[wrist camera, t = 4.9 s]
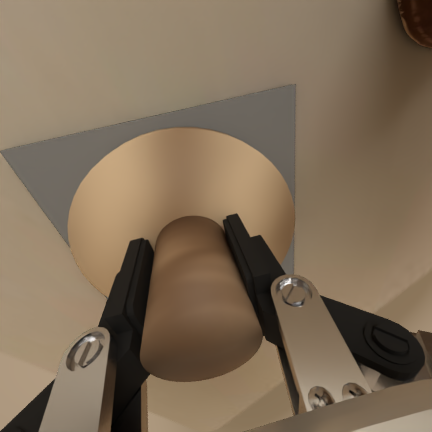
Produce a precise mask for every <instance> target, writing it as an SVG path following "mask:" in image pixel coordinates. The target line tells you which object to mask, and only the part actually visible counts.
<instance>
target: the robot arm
mask: <svg viewBox="0 0 432 432" xmlns="http://www.w3.org/2000/svg"><path fill="white" fill-rule="evenodd" d="M223 225H224V230H225V235H226V237H227V240H228V243H229V245H230V248H231V251H232V253H233V256H234V259H235V261H236V264H237V267H238V269H239V272H240V275H241V277H242V280H243V283H244V285H245V288H246V291H247V293H248V296H249V299H250V301H251V303H252V305H253V308H254V311H255V313H256V316H257V318H258V321H259V324H260V326H261V329H262V333H263V336H265V338H266V340H267V341H269V342H271V343H273V344H275V346H276V350H277V354H278V358H279V362H280V365H281V369H282V373H283V377H284V381H285V385H286V389H287V393H288V396H289V400H290V404H291V408H292V412H293V415H294V416H292V417H289V418H286V419H283V420H280V421H276V422H273V423H270V424H267V425H264V426H260V427H257V428H254V429H251V430H248V431H244V432H432V333H430V332H425V331H420V330H418V332H417V333H412V332H409V331H408V330H407V329H405V328H404V327H402V326H401V325H399V324H397V323H395V322H393V321H391V320H388V319H385V318H383V317H380V316H377V315H374V314H372V313H369V312H366V311H363V310H360V309H357V308H355V307H352V306H349V305H346V304H343V303H340V302H338V301H335V300H332V299H329V298H326V297H324V296H321V295H319V293H318V291H317V289H316V288H315V286H314V285H313V284H312V283H311V282H310V281H309V280H307V279H306V278H304V277H302V276H299V275H294V274H286V273H285V272H284V270H283V269H282V267H281V265H280V264H279V262H278V261H277V259H276V258H275V256H274V254H273V253H272V251H271V250H270V248H269V247H268V245H267V244H266V242H265V240H264V239H263V237H262V236H261V235H257V236H253V237H250V235H249V233H248V232H247V230H246V228H245V226H244V224H243V223H242V221H241V219H240V217H239V215H238V214H237V213H236V214H232V215H228V216H226V219H224V220H223ZM153 259H154V251H153V248H152V246H151V244H150V242H149V240H148V239H147V240H145V239H144V238H138V239H135V240H131V241H130V242H129V245H128V248H127V251H126V254H125V257H124V260H123V263H122V266H121V269H120V272H118V273H117V274H116V276H115V279H114V282H113V285H112V288H111V291H110V294H109V297H108V300H107V302H106V305H105V308H104V311H103V314H102V317H101V320H100V323H99V325H98V327H96V328H92V329H90V330H88V331H86V332H84V333H82V334H81V335H80V336H79V337H77V338H76V339H75V340H74V341H73V342H72V343H71V344H70V346H69V347H68V348H67V350H66V351H65V353H64V355H63V357H62V360H61V363H60V366H59V369H58V372H57V375H56V378H55V379H54V380H53V381H52V382H51V383H50V384H49V385H48V386H47V387H46V388H45V389H44V390H43V391H42V392H41V393H40V394H39V395H38V396H37V397H35V399H34V400H33V401H31V402H30V403H29V404H28V405H27V406H26V407H25V408H24V409H23V410H22V411H21V412H20V413H19V414H18V415H17V416H16V417H15V418H14V419H13V420H12V421H11V422H10V423H8V424H7V425H6V427H4V428H3V429H2V430H1V431H0V432H148V411H147V381H146V379H147V377H148V376H149V375H150V373H149V372H147V371H146V370H145V368H144V367H143V366H142V364H141V361H140V350H141V343H142V336H143V329H144V322H145V315H146V308H147V301H148V294H149V287H150V280H151V273H152V266H153Z"/></svg>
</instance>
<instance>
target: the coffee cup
mask: <svg viewBox="0 0 432 432" xmlns="http://www.w3.org/2000/svg"><path fill="white" fill-rule="evenodd" d="M397 2H398V7H399V11H400V15H401V19H402V22H403V26H404V29H405V31H406V33H407V34H408V35H409V36H410V37H411V38H412V39H413V40H414V41H416V42H417V43H418V44H420V45H422V46H424V47H428V48H431V49H432V0H397Z"/></svg>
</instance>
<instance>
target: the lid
mask: <svg viewBox="0 0 432 432" xmlns="http://www.w3.org/2000/svg"><path fill="white" fill-rule="evenodd" d="M236 213H237V214H238V215H239V217H240V219H241V221H242V223H243V224H244V226H245V228H246V230H247V232H248V233H249V235H250V237H253V236H257V235H261V236H262V237H263V239H264V240H265V242H266V244H267V245H268V247H269V248H270V250H271V251H272V253H273V254H274V256H275V258H276V259H277V261H278V262H279V264H280V265H281V263H282V262H283V260H284V258H285V256H286V254H287V252H288V250H289V247H290V245H291V242H292V238H293V234H294V226H295V210H294V204H293V200H292V196H291V193H290V191H289V188H288V185H287V183H286V182H285V180H284V178H283V177H282V175H281V173H280V172H279V171H278V170H277V168H276V167H275V166H274V165H273V164H272V162H270V161H269V160H268V159H267V158H266V157H265V156H264V155H262V154H261V153H260V152H259V151H257V150H256V149H254V148H252V147H251V146H249V145H248V144H246V143H244V142H243V141H241V140H239V139H237V138H235V137H232V136H230V135H228V134H226V133H222V132H219V131H215V130H211V129H206V128H198V127H172V128H165V129H159V130H155V131H152V132H148V133H145V134H142V135H140V136H137V137H135V138H133V139H131V140H129V141H127V142H125V143H123V144H122V145H121V146H119V147H118V148H116V149H115V150H113V151H112V152H110V153H109V154H108V155H106V156H105V157H104V158H103V159H102V160H101V161H100V162H99V163H97V164H96V165H95V166H94V167H93V168H92V169H91V170H90V172H89V173H88V174H87V176H86V177H85V178H84V179H83V181H82V182H81V184H80V186H79V188H78V189H77V191H76V193H75V195H74V197H73V201H72V204H71V207H70V210H69V217H68V240H69V244H70V248H71V252H72V254H73V257H74V259H75V261H76V264H77V265H78V267H79V269H80V270H81V272H82V273H83V275H84V276H85V277H86V278H87V279H88V281H89V282H90V283H91V284H92V285H93V286H94V287H95V288H96V289H97V290H99V291H100V292H101V293H102V294H104V295H105V296H107V297H109V294H110V291H111V288H112V285H113V282H114V279H115V276H116V274H117V273H118V272H120V269H121V266H122V263H123V260H124V257H125V254H126V251H127V248H128V245H129V242H130V241H131V240H135V239H138V238H144V239H145V240H147V239H148V240H149V242H150V244H151V246H152V248H153V251H154V259H153V266H152V273H151V280H150V287H149V294H148V301H147V308H146V315H145V322H144V329H143V336H142V343H141V350H140V361H141V364H142V366H143V367H144V368H145V370H146V371H147V372H149V373H150V374H152V375H154V376H156V377H158V378H161V379H164V380H169V381H176V382H192V381H201V380H206V379H210V378H214V377H218V376H221V375H223V374H226V373H228V372H230V371H232V370H235V369H236V368H238V367H240V366H241V365H243V364H244V363H246V362H247V361H248V360H249V359H251V358H252V357H253V356H254V354H255V353H256V352H257V351H258V349H259V347H260V345H261V343H262V339H263V333H262V329H261V326H260V324H259V321H258V318H257V316H256V313H255V311H254V308H253V305H252V303H251V301H250V299H249V296H248V293H247V291H246V288H245V285H244V283H243V280H242V277H241V275H240V272H239V269H238V267H237V264H236V261H235V259H234V256H233V253H232V251H231V248H230V245H229V243H228V240H227V237H226V235H225V230H224V225H223V220H224V219H226V216H228V215H232V214H236Z"/></svg>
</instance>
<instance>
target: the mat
mask: <svg viewBox="0 0 432 432" xmlns="http://www.w3.org/2000/svg"><path fill="white" fill-rule="evenodd" d="M295 110H296V84H294V85H289V86H284V87H280V88H276V89H271V90H267V91H262V92H258V93H253V94H249V95H245V96H240V97H236V98H231V99H227V100H222V101H218V102H214V103H209V104H205V105H200V106H196V107H191V108H187V109H183V110H178V111H174V112H169V113H165V114H160V115H156V116H151V117H147V118H143V119H138V120H134V121H129V122H125V123H120V124H116V125H112V126H107V127H103V128H98V129H94V130H89V131H85V132H81V133H76V134H72V135H67V136H63V137H58V138H54V139H50V140H45V141H41V142H36V143H32V144H27V145H23V146H19V147H14V148H10V149H6V150H2V151H0V153H1V154H2V155H3V157H4V158H5V159H6V161H7V162H8V164H9V165H10V166H11V168H12V169H13V170H14V172H15V173H16V175H17V176H18V177H19V179H20V180H21V181H22V183H23V184H24V186H25V187H26V188H27V190H28V191H29V192H30V194H31V195H32V196H33V198H34V199H35V201H36V202H37V203H38V205H39V206H40V207H41V209H42V210H43V212H44V213H45V214H46V216H47V217H48V218H49V220H50V221H51V223H52V224H53V225H54V227H55V228H56V229H57V231H58V232H59V233H60V235H61V236H62V238H63V239H64V240H65V242H66V243H67V244H68V246H69V247H70V244H69V240H68V217H69V210H70V207H71V204H72V201H73V197H74V195H75V193H76V191H77V189H78V188H79V186H80V184H81V182H82V181H83V179H84V178H85V177H86V176H87V174H88V173H89V172H90V170H91V169H92V168H93V167H94V166H95V165H96V164H97V163H99V162H100V161H101V160H102V159H103V158H104V157H105V156H106V155H108V154H109V153H110V152H112V151H113V150H115V149H116V148H118V147H119V146H121V145H122V144H123V143H125V142H127V141H129V140H131V139H133V138H135V137H137V136H140V135H142V134H145V133H148V132H152V131H155V130H159V129H165V128H172V127H198V128H206V129H211V130H215V131H219V132H222V133H226V134H228V135H230V136H232V137H235V138H237V139H239V140H241V141H243V142H244V143H246V144H248V145H249V146H251V147H252V148H254V149H256V150H257V151H259V152H260V153H261V154H262V155H264V156H265V157H266V158H267V159H268V160H269V161H270V162H272V164H273V165H274V166H275V167H276V168H277V170H278V171H279V172H280V173H281V175H282V177H283V178H284V180H285V182H286V183H287V185H288V188H289V191H290V193H291V196H292V200H293V204H294V203H295ZM70 249H71V248H70ZM281 267H282V269H283V270H284V272H285V273H286V274H294V234H293V238H292V242H291V245H290V247H289V250H288V252H287V254H286V256H285V258H284V260H283V262H282V263H281ZM105 297H106V298H107V299H108V297H107V296H105Z"/></svg>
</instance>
